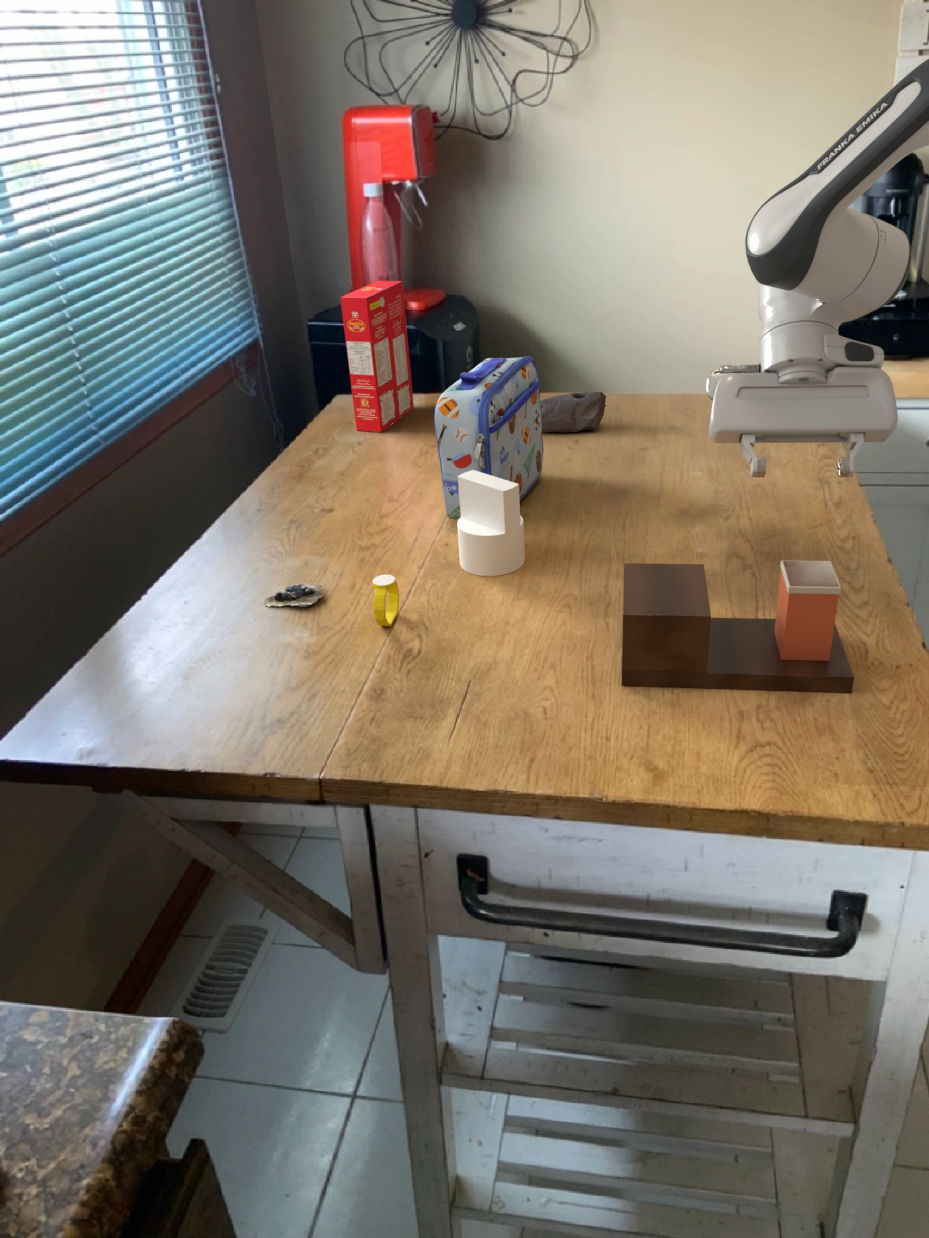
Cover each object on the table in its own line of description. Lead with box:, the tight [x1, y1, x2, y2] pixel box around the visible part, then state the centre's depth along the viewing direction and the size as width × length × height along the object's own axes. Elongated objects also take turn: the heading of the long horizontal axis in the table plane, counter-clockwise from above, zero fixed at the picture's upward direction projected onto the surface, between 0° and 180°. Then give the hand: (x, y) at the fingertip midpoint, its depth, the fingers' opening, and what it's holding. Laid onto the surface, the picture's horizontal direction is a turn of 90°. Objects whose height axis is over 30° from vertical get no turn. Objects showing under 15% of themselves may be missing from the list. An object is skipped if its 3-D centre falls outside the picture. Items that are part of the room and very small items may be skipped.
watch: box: [372, 574, 400, 627], centre depth 120 cm, size 6×3×6 cm, turn 167°
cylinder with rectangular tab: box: [456, 470, 526, 577], centre depth 132 cm, size 9×9×12 cm
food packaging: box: [340, 280, 415, 433], centre depth 186 cm, size 15×5×25 cm, turn 157°
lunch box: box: [433, 355, 544, 520], centre depth 147 cm, size 28×10×22 cm, turn 161°
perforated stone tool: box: [540, 391, 607, 433], centre depth 178 cm, size 15×5×7 cm, turn 87°
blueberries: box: [263, 583, 323, 608], centre depth 128 cm, size 7×8×2 cm
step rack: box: [620, 562, 855, 694], centre depth 107 cm, size 24×12×9 cm, turn 81°
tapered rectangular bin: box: [774, 560, 842, 661], centre depth 105 cm, size 5×6×9 cm
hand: (801, 475), depth 109 cm, fingers open, 8 cm apart
